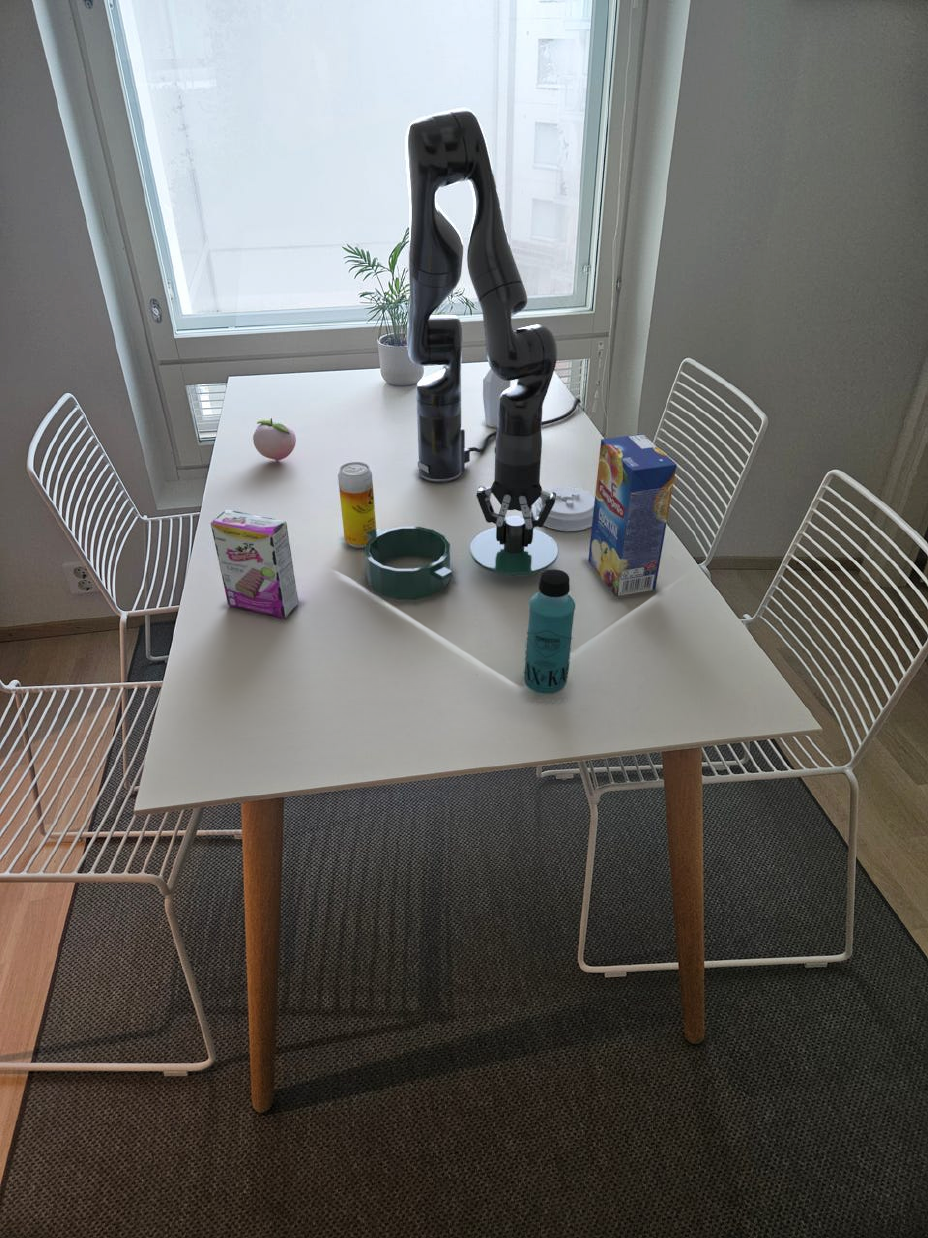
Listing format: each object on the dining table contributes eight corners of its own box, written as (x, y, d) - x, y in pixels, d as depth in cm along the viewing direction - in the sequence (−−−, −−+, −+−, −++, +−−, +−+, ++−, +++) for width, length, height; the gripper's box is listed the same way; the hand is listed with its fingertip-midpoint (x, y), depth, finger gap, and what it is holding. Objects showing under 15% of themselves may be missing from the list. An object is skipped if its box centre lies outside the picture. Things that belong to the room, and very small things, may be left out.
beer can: (371, 550, 149) (365, 477, 140) (340, 547, 150) (332, 474, 141) (380, 534, 154) (375, 462, 145) (350, 531, 155) (343, 459, 146)
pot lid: (511, 522, 151) (512, 490, 147) (575, 553, 142) (579, 520, 138) (451, 553, 142) (451, 520, 138) (516, 589, 134) (518, 555, 130)
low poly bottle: (513, 422, 197) (517, 331, 184) (500, 431, 193) (503, 338, 180) (491, 416, 200) (493, 326, 187) (477, 425, 195) (479, 333, 182)
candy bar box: (226, 607, 135) (207, 522, 125) (242, 591, 139) (225, 507, 129) (285, 620, 132) (271, 534, 122) (300, 603, 136) (287, 519, 126)
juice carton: (655, 592, 138) (677, 464, 124) (615, 598, 137) (633, 470, 122) (625, 556, 148) (642, 433, 133) (587, 562, 146) (600, 439, 132)
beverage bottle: (519, 675, 121) (526, 563, 109) (563, 672, 121) (574, 561, 109) (526, 704, 116) (533, 590, 104) (571, 701, 116) (584, 588, 104)
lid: (606, 511, 161) (608, 488, 158) (586, 541, 152) (588, 517, 149) (546, 498, 165) (548, 476, 162) (524, 526, 156) (525, 504, 153)
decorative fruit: (248, 465, 178) (241, 422, 172) (269, 450, 184) (262, 408, 178) (285, 472, 175) (278, 429, 169) (304, 457, 181) (299, 415, 175)
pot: (403, 542, 152) (401, 512, 148) (478, 584, 140) (478, 554, 137) (341, 572, 144) (338, 541, 140) (416, 619, 132) (414, 588, 128)
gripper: (563, 446, 133) (556, 536, 143) (479, 440, 135) (477, 528, 145) (559, 467, 127) (552, 558, 137) (471, 460, 129) (470, 550, 139)
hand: (514, 542), depth 141 cm, fingers closed on pot lid, 3 cm apart
